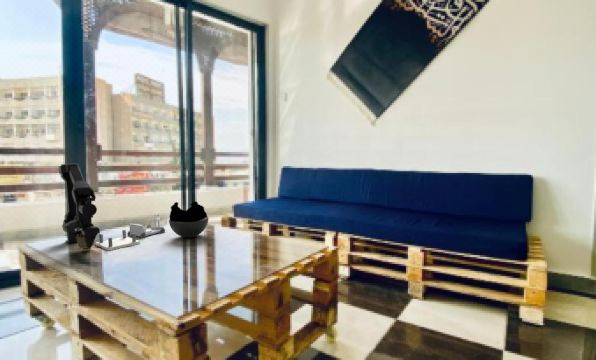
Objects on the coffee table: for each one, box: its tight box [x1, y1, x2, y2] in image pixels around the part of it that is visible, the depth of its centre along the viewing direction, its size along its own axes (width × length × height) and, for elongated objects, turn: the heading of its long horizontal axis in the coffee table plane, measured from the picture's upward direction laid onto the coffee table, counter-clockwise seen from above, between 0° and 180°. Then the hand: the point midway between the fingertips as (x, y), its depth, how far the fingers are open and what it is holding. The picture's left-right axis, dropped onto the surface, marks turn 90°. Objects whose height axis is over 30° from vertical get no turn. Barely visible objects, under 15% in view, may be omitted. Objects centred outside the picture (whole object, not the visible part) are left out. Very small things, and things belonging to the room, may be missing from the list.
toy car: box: [126, 214, 166, 239], centre depth 190 cm, size 18×10×12 cm
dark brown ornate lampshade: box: [76, 233, 95, 252], centre depth 158 cm, size 8×7×8 cm
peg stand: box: [95, 229, 141, 251], centre depth 169 cm, size 15×15×5 cm
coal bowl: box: [168, 201, 209, 239], centre depth 181 cm, size 20×20×19 cm
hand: (86, 246), depth 158 cm, fingers open, 8 cm apart
